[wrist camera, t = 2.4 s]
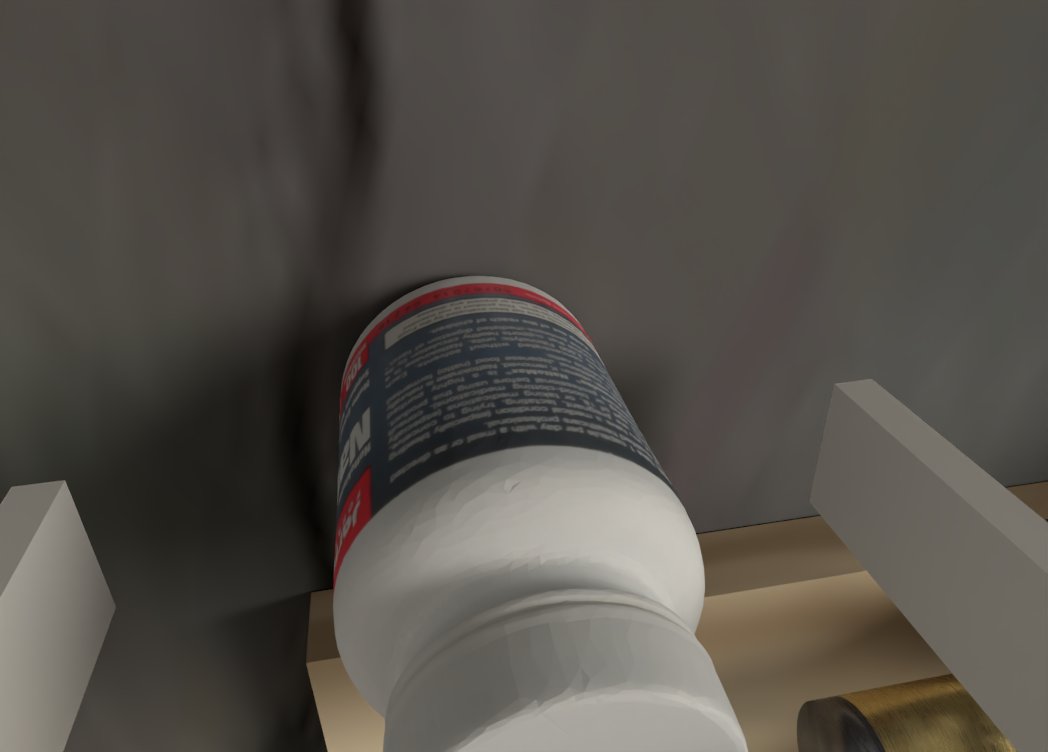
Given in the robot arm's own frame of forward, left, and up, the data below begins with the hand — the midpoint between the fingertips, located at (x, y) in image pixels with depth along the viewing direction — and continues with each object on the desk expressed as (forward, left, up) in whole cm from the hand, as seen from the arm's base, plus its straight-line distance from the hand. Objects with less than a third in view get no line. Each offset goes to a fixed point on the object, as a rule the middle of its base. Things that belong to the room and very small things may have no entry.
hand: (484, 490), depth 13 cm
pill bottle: (0, 0, -3) cm, 3 cm away
